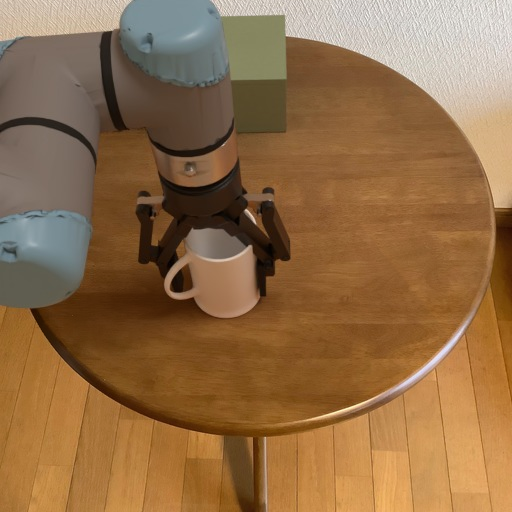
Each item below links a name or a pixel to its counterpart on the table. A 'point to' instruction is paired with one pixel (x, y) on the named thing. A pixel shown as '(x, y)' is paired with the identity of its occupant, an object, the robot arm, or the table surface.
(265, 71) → the cabinet
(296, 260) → the table surface
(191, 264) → the mug
